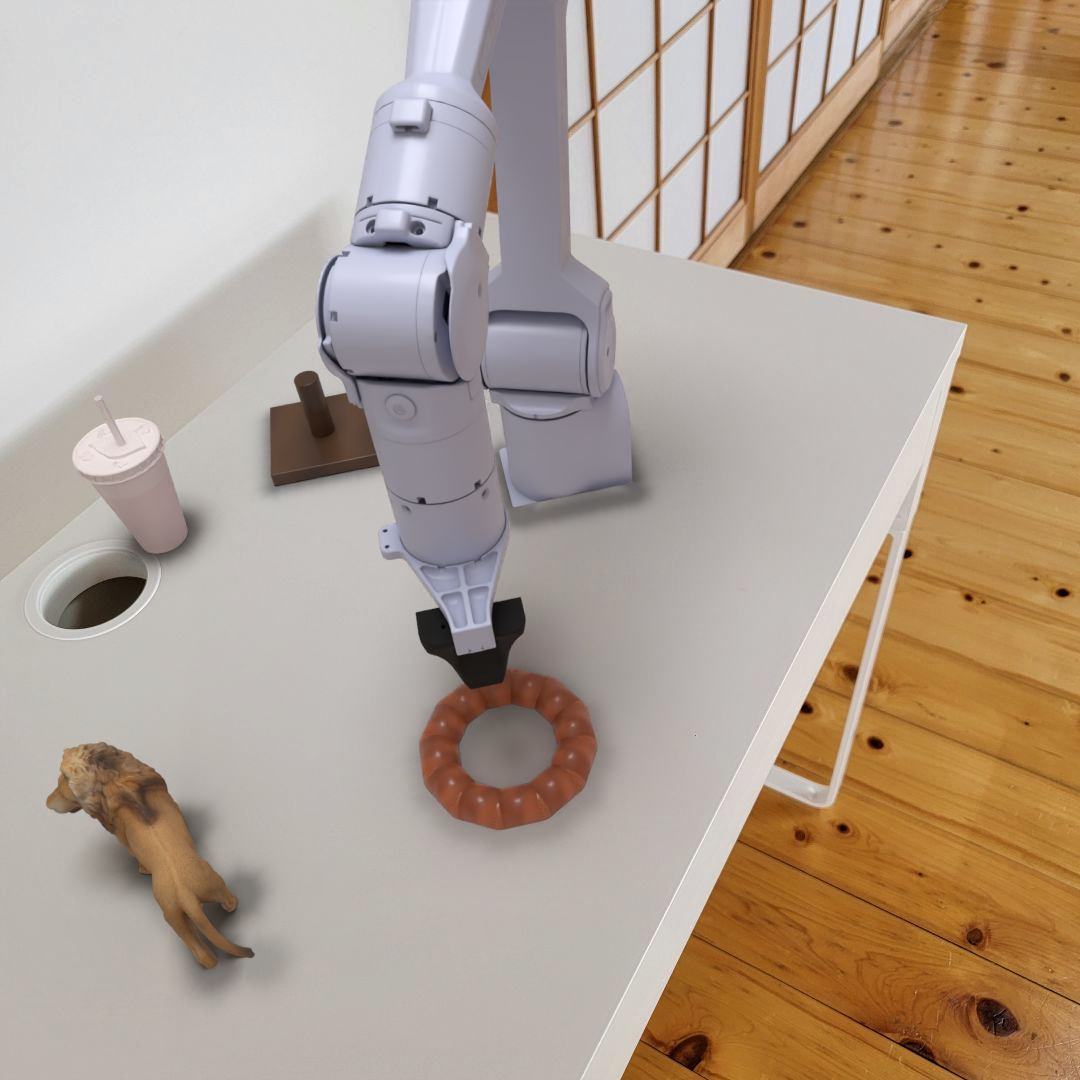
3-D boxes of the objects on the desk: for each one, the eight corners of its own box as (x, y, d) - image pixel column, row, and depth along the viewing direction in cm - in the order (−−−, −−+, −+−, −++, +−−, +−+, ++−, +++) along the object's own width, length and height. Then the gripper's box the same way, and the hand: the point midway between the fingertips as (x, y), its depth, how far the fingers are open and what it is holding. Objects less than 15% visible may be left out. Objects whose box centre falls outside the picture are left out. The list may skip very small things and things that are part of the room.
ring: (575, 669, 66) (572, 647, 65) (614, 813, 59) (612, 794, 57) (415, 703, 66) (408, 682, 64) (435, 854, 58) (428, 835, 57)
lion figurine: (85, 847, 61) (15, 773, 54) (157, 785, 63) (98, 706, 57) (232, 1004, 54) (171, 941, 47) (306, 927, 56) (259, 856, 50)
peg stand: (374, 398, 88) (357, 335, 83) (383, 464, 82) (365, 401, 77) (273, 417, 88) (250, 356, 83) (274, 486, 82) (249, 424, 77)
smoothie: (183, 570, 76) (109, 431, 66) (108, 562, 77) (24, 425, 67) (217, 510, 80) (153, 371, 70) (146, 504, 81) (72, 366, 71)
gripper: (351, 393, 55) (399, 557, 65) (370, 587, 45) (423, 746, 55) (477, 369, 55) (505, 535, 65) (523, 556, 45) (548, 719, 55)
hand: (476, 630), depth 60 cm, fingers open, 7 cm apart
